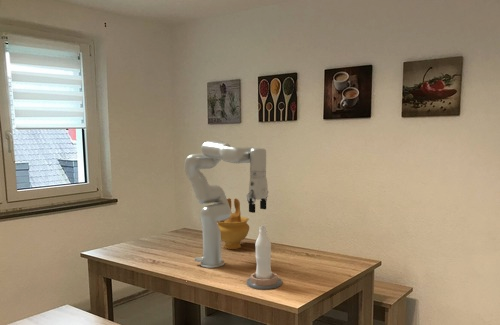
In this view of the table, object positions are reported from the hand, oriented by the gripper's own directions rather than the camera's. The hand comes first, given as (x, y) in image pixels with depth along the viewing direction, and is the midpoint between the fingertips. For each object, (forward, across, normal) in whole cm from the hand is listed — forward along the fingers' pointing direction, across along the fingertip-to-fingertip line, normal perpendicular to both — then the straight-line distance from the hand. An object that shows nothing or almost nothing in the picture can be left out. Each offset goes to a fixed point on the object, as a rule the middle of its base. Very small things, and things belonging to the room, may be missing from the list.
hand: (257, 210), depth 187 cm
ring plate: (+32, -6, -7) cm, 33 cm away
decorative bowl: (+34, +40, +43) cm, 68 cm away
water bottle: (+31, -6, -7) cm, 32 cm away
